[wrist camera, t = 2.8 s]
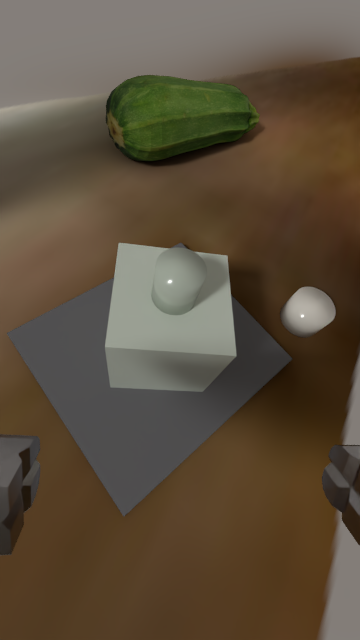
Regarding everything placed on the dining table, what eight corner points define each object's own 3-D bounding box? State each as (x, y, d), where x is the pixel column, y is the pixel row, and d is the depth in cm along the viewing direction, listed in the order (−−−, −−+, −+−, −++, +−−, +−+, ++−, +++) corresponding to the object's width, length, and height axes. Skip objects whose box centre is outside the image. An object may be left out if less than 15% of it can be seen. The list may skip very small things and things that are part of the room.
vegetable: (101, 55, 25) (269, 48, 33) (91, 115, 32) (233, 97, 39) (134, 140, 26) (291, 114, 33) (118, 181, 32) (252, 151, 40)
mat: (9, 336, 21) (6, 333, 20) (180, 247, 27) (181, 242, 27) (123, 515, 17) (123, 516, 17) (288, 361, 24) (292, 358, 23)
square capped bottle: (110, 387, 20) (101, 323, 11) (119, 305, 23) (118, 209, 15) (202, 391, 21) (255, 335, 12) (200, 313, 24) (241, 225, 15)
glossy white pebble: (271, 314, 26) (285, 299, 24) (295, 295, 27) (310, 280, 25) (302, 345, 25) (319, 332, 23) (325, 324, 26) (343, 310, 24)
